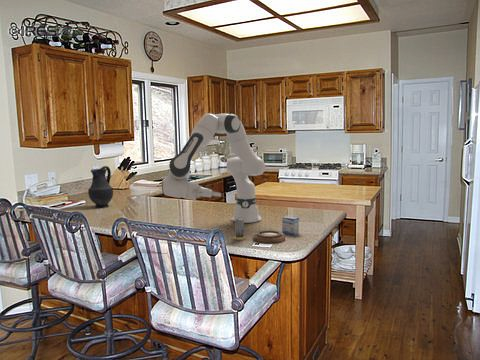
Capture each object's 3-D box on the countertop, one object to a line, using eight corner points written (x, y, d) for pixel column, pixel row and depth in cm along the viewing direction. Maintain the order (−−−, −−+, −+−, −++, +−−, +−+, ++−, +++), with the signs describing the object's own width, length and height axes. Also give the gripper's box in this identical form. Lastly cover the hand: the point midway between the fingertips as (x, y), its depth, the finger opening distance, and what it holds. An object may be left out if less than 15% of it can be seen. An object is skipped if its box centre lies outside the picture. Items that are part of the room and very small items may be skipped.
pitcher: (84, 208, 298) (81, 167, 294) (101, 203, 317) (99, 165, 314) (104, 209, 293) (102, 168, 289) (121, 204, 312) (119, 165, 309)
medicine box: (281, 233, 217) (281, 217, 216) (286, 231, 220) (286, 215, 219) (294, 235, 212) (294, 219, 211) (299, 233, 216) (299, 217, 215)
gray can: (234, 237, 210) (233, 218, 209) (246, 237, 210) (246, 218, 209) (232, 240, 204) (232, 220, 203) (245, 240, 203) (245, 221, 202)
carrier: (254, 234, 214) (254, 229, 214) (284, 235, 213) (284, 229, 212) (252, 243, 198) (252, 237, 198) (285, 243, 197) (285, 237, 196)
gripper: (193, 184, 193) (222, 188, 194) (195, 184, 214) (221, 188, 215) (191, 197, 193) (220, 201, 194) (193, 196, 214) (219, 200, 215)
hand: (220, 194), depth 205 cm, fingers open, 8 cm apart
